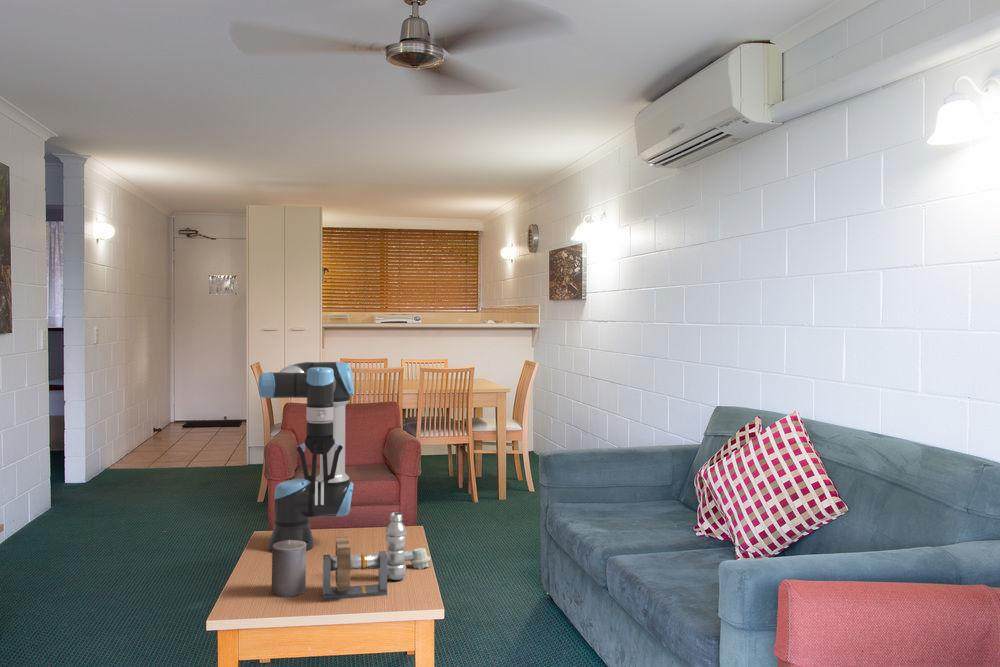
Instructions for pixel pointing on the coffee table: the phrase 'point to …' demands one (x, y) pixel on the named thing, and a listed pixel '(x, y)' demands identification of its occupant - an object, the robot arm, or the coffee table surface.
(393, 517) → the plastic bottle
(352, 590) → the rail stand
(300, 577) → the pillar candle
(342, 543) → the slotted tan block
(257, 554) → the coffee table surface
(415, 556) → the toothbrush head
